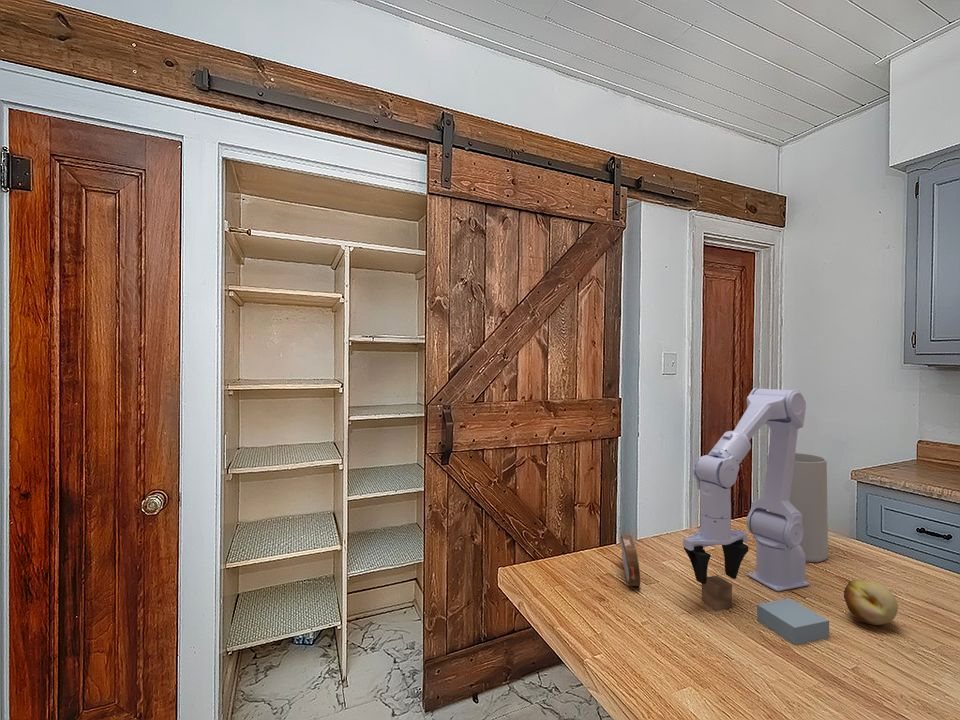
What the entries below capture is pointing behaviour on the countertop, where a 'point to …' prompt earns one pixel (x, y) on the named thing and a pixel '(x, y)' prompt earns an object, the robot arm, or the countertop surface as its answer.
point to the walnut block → (717, 593)
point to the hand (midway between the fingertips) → (716, 579)
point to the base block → (793, 621)
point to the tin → (630, 561)
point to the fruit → (870, 602)
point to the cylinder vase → (811, 504)
